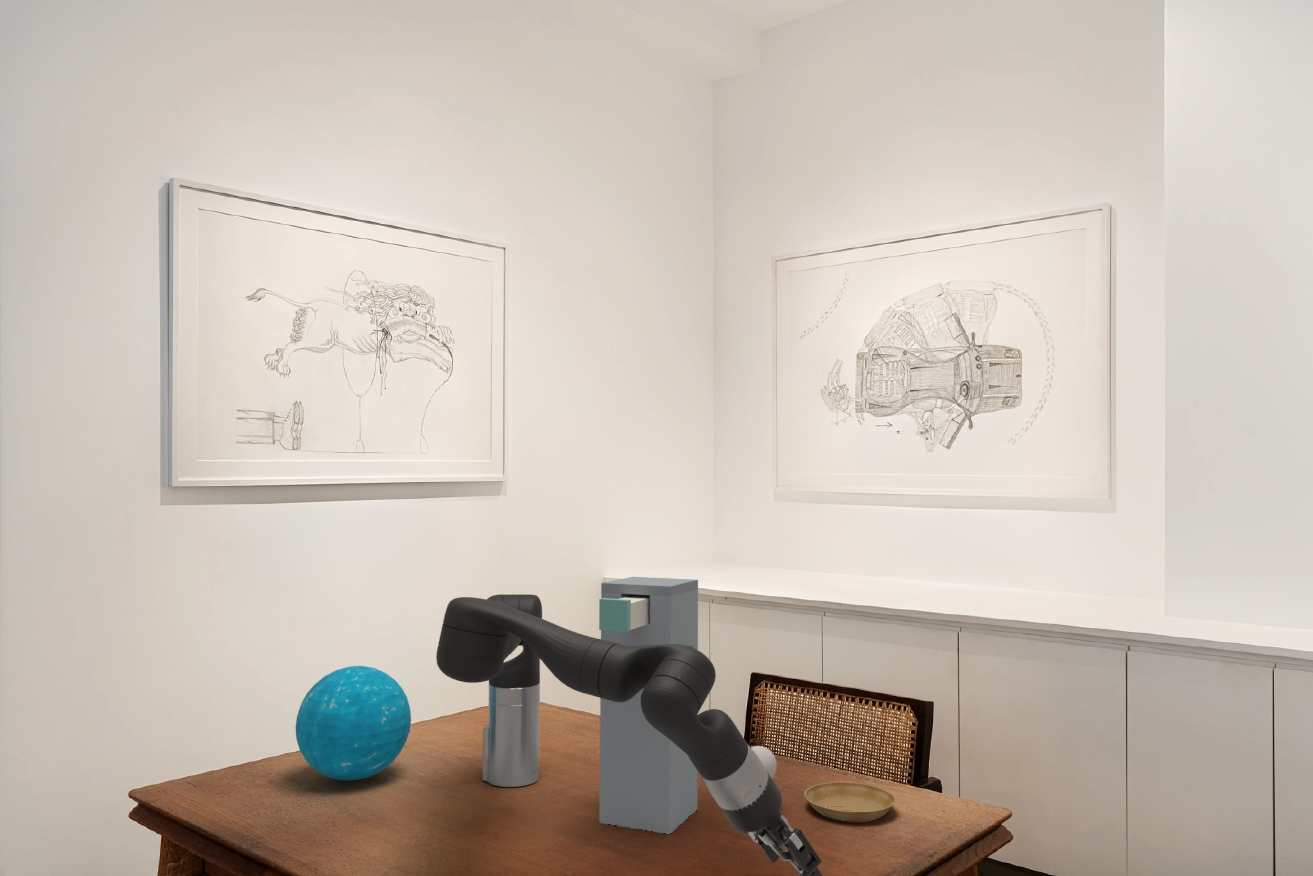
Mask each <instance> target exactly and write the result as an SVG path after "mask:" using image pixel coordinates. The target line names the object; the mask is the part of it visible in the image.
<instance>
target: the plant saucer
mask: <svg viewBox="0 0 1313 876" xmlns="http://www.w3.org/2000/svg"><path fill="white" fill-rule="evenodd" d="M803 795H804V798H805V799H806V801H807V802H808V804H809V805H810V806H811V807H812V809H814V810H815V811H816V812H817V813H818V814H819V813H820V814H819V815H821V816H823V817H825V816H826V817H825V818H827V817H828V819H830V818H831V819H830V820H834V819H837V820H836V821H838V820H842V821H841V822H844V821H850V822H849V823H868V821H869V822H874V821H877V820H879V819H881V818H882V817H884V816H885V815H886V814H888V812H889V811H890V810H891V809H892V808H893V806H894V805H895V804H896V802H897V800H896V797H895V795H894V794H892V793H891V791H890V792H889V791H888V790H886V789H884V788H880V787H878V786H875V785H870V784H867V783H866V784H865V783H859V782H850V781H849V782H848V781H836V782H835V781H831V782H824V783H819V784H814V785H812V786H810V787H808V788H807V789H805V791H804V794H803ZM828 806H829V807H828ZM831 806H833V807H831ZM834 806H842V808H841V807H834ZM845 806H846V807H845ZM842 810H851V811H842ZM876 819H877V820H876ZM873 820H874V821H873Z"/></svg>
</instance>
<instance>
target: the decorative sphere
mask: <svg viewBox="0 0 1313 876" xmlns="http://www.w3.org/2000/svg"><path fill="white" fill-rule="evenodd" d="M301 701H302V702H301V703H300V706H299V709H298V712H297V716H296V720H295V721H296V722H295V736H296V737H295V738H296V741H297V746H298V749H299V751H300V752H301V754H302V757H303V759H304V760H305V761H306V763H308V764H309V766H310V767H311V768H312V769H314V770H315V771H316V772H317V773H319V774H321V775H322V776H323V777H328V778H330V779H334V780H335V781H336V780H337V781H341V782H342V781H345V782H346V781H347V782H348V781H359V780H365V779H368V778H370V777H372V776H374V775H376V774H378V773H380V772H382V771H383V770H385V769H386V768H387V767H388V766H390V765H391V764H392V763H393V762H394V761H395V760H396V759H397V757H398V756H399V755H400V753H401V752H402V750H403V748H404V746H405V745H406V744H407V741H408V738H409V734H410V730H411V725H412V724H411V723H412V715H411V713H412V712H411V707H410V706H411V705H410V704H409V700H408V696H407V694H406V693H405V691H404V689H403V688H402V686H401V685H400V684H399V682H397V680H396V679H395V678H393V677H392V676H390V675H389V674H388V673H386V672H384V671H383V670H379V669H378V668H376V667H372V666H371V667H370V666H365V665H350V666H346V667H343V668H339V669H336V670H333V671H332V672H330V673H327V674H325V675H324V676H323V677H321V679H319V680H318V681H317V682H316V683H314V684H313V686H312V687H311V688H310V689H309V690H308V692H306V694H305V696H304V698H303V700H301Z"/></svg>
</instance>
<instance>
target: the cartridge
mask: <svg viewBox="0 0 1313 876" xmlns="http://www.w3.org/2000/svg"><path fill="white" fill-rule="evenodd" d="M598 602H599V610H598V611H599V615H598V617H599V619H598V625H599V626H598V628H599V629H598V630H599V631H601V630H607V631H621V632H628V631H630V630H632V629H635V628H638V627H641V626H644V625H647V624H650V595H638V594H636V595H632V596H628V597H624V598H620V599H609V598H602V599H601V598H599V601H598Z"/></svg>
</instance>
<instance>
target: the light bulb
mask: <svg viewBox="0 0 1313 876" xmlns="http://www.w3.org/2000/svg"><path fill="white" fill-rule="evenodd" d="M750 748H751V749H752V750H753V751H754V752H755V753H756V755H757V756H758V758H759V759H760V761H761V762H762V764H763V765H764V767H765V769H766V770H767V772H768V773H769V775H770V776H771V778H772V779H773V778H774V777H775V774H776V773H777V770H778V769H777V766H778V765H777V759H776V756H775V754H774V753H773V751H772V750H770V749H769V748H767V747H765V746H762V745H755V746H754V745H753V746H752V747H751V746H750Z"/></svg>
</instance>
